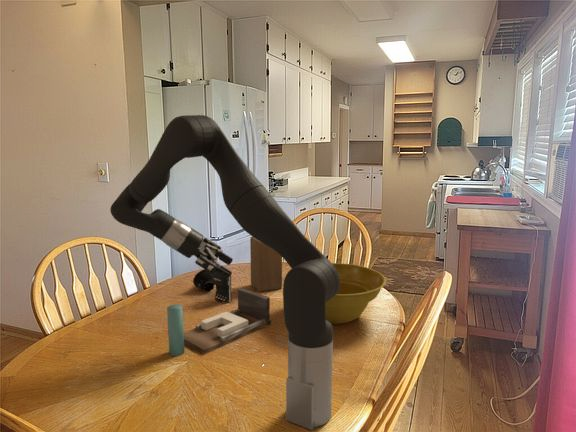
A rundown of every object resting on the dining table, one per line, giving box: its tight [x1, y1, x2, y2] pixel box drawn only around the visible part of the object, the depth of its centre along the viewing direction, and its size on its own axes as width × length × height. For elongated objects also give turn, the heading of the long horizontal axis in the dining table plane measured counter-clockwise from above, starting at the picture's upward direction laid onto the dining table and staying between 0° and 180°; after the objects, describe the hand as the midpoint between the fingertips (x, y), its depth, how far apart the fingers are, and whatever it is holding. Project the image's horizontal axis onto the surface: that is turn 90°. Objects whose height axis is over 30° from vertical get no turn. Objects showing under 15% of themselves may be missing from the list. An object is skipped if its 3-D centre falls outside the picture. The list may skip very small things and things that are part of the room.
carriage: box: [200, 310, 248, 337], centre depth 129 cm, size 10×10×2 cm
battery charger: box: [212, 272, 232, 304], centre depth 154 cm, size 7×4×11 cm, turn 49°
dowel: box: [166, 303, 185, 357], centre depth 116 cm, size 4×4×13 cm
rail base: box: [184, 287, 273, 355], centre depth 129 cm, size 26×13×9 cm, turn 138°
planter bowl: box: [325, 262, 387, 325], centre depth 141 cm, size 32×32×13 cm
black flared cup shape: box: [192, 269, 216, 292], centre depth 169 cm, size 9×11×18 cm
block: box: [249, 236, 283, 293], centre depth 168 cm, size 10×10×20 cm
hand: (230, 268), depth 123 cm, fingers open, 8 cm apart
